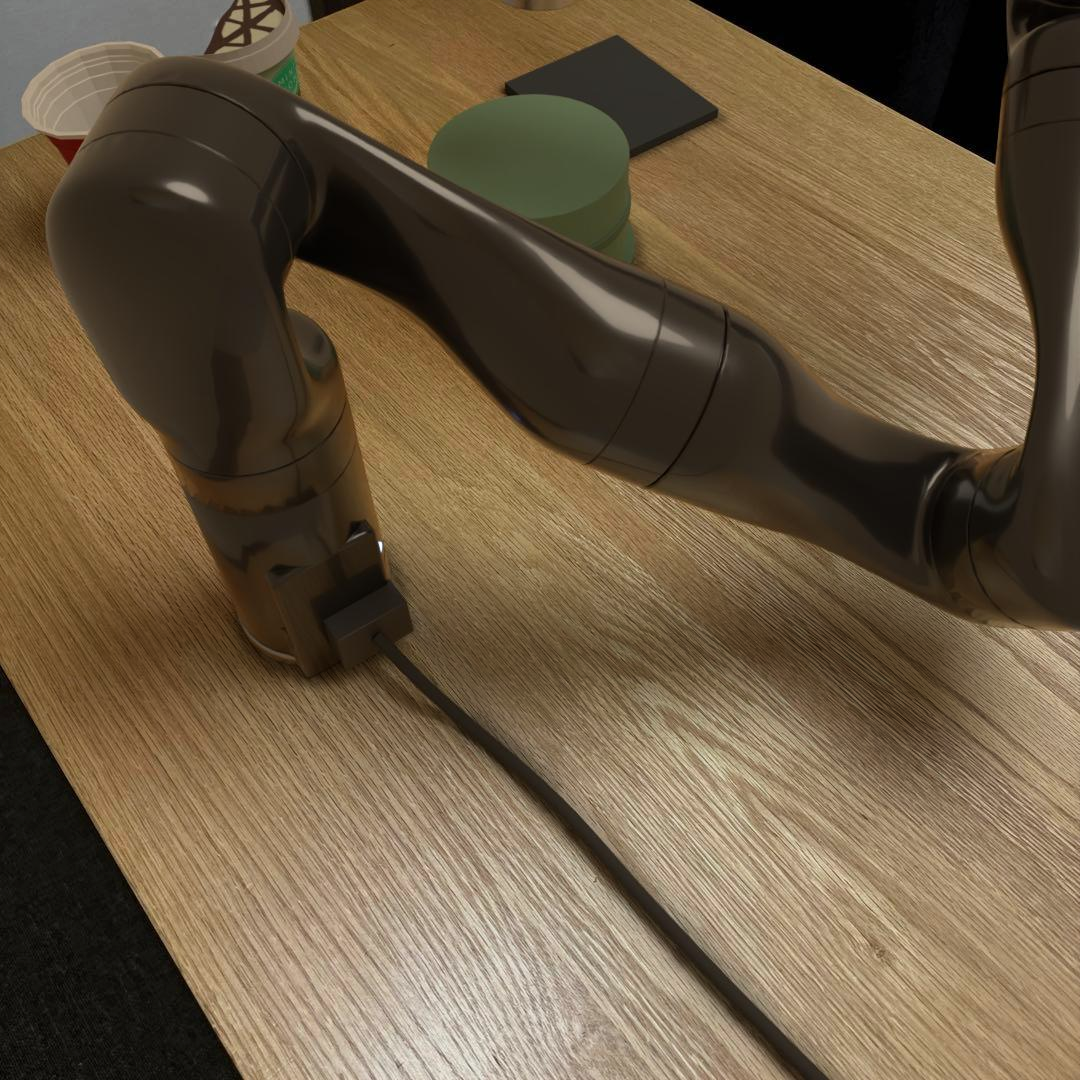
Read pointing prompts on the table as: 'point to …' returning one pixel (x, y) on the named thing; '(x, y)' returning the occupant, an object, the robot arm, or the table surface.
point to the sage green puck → (544, 166)
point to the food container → (259, 40)
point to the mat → (622, 91)
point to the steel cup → (539, 4)
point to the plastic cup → (79, 91)
